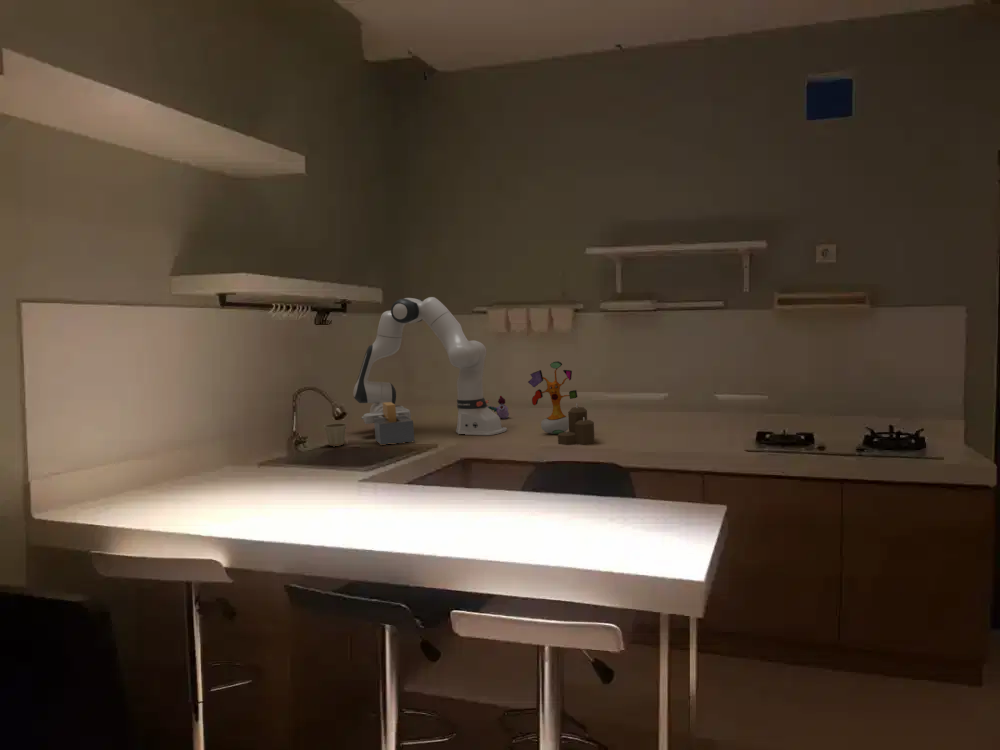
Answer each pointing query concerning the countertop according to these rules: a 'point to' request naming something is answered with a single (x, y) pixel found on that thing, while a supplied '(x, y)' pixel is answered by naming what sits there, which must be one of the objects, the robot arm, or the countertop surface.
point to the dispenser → (394, 430)
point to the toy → (500, 408)
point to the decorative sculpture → (553, 400)
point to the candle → (578, 428)
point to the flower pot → (335, 433)
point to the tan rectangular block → (389, 411)
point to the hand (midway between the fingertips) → (390, 418)
